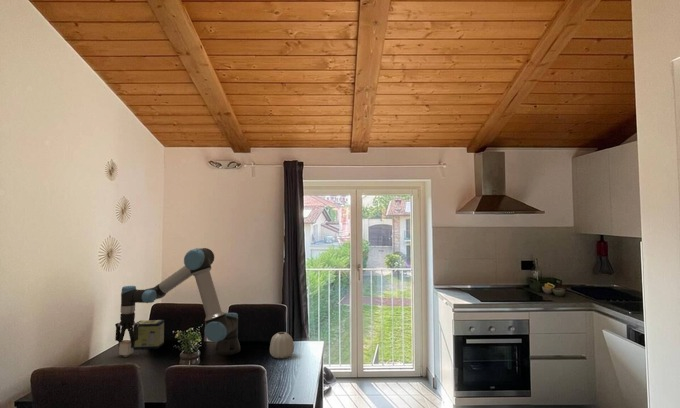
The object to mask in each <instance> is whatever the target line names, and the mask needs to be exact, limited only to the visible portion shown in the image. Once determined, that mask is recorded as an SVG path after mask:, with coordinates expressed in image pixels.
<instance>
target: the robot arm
mask: <svg viewBox="0 0 680 408" xmlns="http://www.w3.org/2000/svg"><path fill="white" fill-rule="evenodd" d="M214 261H215V253H214V252H213V251H212V249H209V248H206V247H201V248H197V247H196V248H194V249H190V250H189V251H187V252H186V253H185V255H184V258H183V264H184V266H182V267H180V269H178V270H177V271H175V272H174V273H172V274H171V275H170V276H168V277H167V278H165V279H164V280H162V281H161V282H160V283H158V284H156V285H155V286H153V287H150V288H145V289H137V287H136V285H125V286H122V288H121V294H120V298H121V299H120V316H119V317H120V318H119V319H120V322H117V323H115V324H114V325H115V337H114V340H115V342H118V348H119V345H120V343H121V342H123V341H124V337H125V334H126V330H127V332H128V335H129V341H131V342H129V354H130V355H131V354H133V353H134V349H133V347H134V346H135V341H137V340H138V327H139V323H137V322H135V318H136V313H135V311H136V303H138V304H140V303H141V304H149V303H151V304H152V303H154V302H155V301H156V300H159V299H160V300H161V299H162V298H164V297H165V296H166V295H167V294H168V293H169V292H171V291H172V290H173V289H175V288H176V287H178V286H179V285H180V284H182V283H183V282H186V280H188V279H189V278H190V277H192V276H193V277H194V278H195V283H196V285H197V286H196V287H197V289H198V292H199V297H200V299H201V303H202V306H203V310H204V313H205V319H204V323H205V326H204V330H203V331H204V336H205V338H206V339H207V340H209V342H210V341H211V342H213V343H215V346H214V349H213V350H214V352H213V353H214V354H215V355H217V356H231V355H236V354H238V353H240V352H241V345H240V344H241V343H240V341H239V338H238V337H239V335H238V333H239V330H238V329H239V314H238V313H237V312H223V311H222V308H221V304H220V301H219V299H218V295H217V291H216V288H215V285H214V281H213V278H212V274H211V270H212V264H213V263H214ZM133 326H134V332H133Z"/></svg>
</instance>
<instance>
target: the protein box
mask: <svg viewBox="0 0 680 408" xmlns="http://www.w3.org/2000/svg"><path fill="white" fill-rule="evenodd" d="M136 323H139V327H138V340H137V341H135V346H134V347H133V350H155V349H156V350H158V349H159V348H160V347H162V346H163V345H164V344H165V340H164V339H165V335H164V334H165V319H157V320H156V319H153V320H152V319H151V320H139V321H137V322H136ZM133 332H134V325H133Z"/></svg>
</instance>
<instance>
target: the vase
mask: <svg viewBox="0 0 680 408" xmlns="http://www.w3.org/2000/svg"><path fill="white" fill-rule="evenodd" d="M269 344H270V345H269V354H270V355H271V356H272V357H273V358H276V359H287V358H290V357H291V356H292V354H293V353H294V352H295V351H294V350H295V347H294V346H295V345H294V340H293V337H292V336H291V335H290V334H289V333H287V332H285V331H280V332H277V333H275V334H274V335H273V336H272V337H271V340H270V342H269Z"/></svg>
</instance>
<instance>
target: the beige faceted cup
mask: <svg viewBox="0 0 680 408" xmlns="http://www.w3.org/2000/svg"><path fill="white" fill-rule="evenodd" d="M129 342H131V340H123V342H121V343H120V345H119V344H118V346H119V347H118V351H119V352H118V355H119V356H123V355H129Z"/></svg>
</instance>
